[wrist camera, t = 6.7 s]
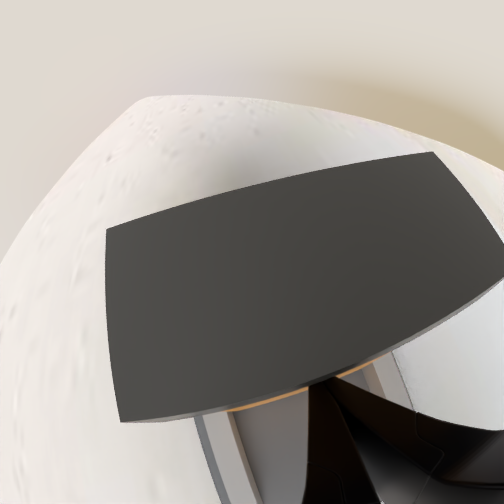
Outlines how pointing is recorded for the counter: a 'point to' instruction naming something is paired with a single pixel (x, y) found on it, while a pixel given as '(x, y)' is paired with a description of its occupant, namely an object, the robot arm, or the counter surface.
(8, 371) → the counter surface
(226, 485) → the base
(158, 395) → the handle
